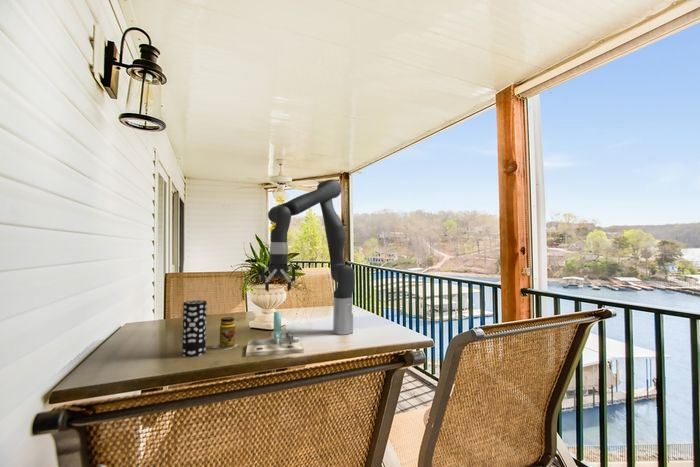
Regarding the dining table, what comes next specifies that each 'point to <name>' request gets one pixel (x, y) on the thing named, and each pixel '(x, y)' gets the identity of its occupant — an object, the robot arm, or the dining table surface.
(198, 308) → the white-spotted black cylinder
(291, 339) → the grey peg board
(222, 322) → the condiment
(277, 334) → the sliding leg
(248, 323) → the dining table surface
